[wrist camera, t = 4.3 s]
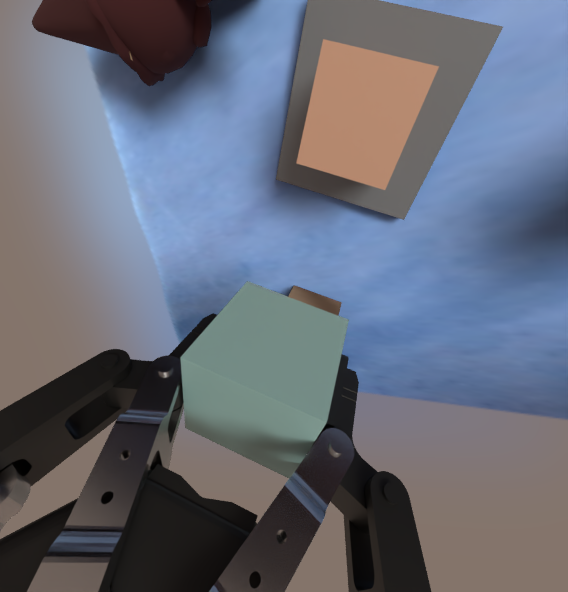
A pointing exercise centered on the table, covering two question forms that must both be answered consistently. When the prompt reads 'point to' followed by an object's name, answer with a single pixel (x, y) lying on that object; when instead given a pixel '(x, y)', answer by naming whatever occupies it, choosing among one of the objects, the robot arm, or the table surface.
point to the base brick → (362, 112)
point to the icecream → (132, 30)
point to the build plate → (397, 42)
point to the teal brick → (263, 377)
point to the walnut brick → (315, 300)
